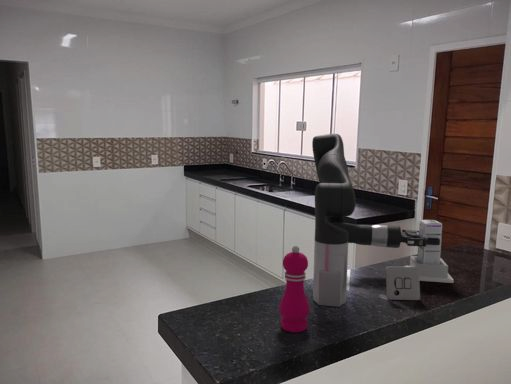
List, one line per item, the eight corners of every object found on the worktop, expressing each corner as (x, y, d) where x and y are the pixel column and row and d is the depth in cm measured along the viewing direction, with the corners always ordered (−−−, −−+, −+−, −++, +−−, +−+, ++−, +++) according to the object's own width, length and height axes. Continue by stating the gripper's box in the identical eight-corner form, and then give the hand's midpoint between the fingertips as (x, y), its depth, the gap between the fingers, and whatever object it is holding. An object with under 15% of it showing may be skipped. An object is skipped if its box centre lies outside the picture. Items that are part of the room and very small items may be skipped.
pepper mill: (272, 326, 101) (274, 245, 98) (292, 317, 106) (293, 240, 103) (295, 336, 96) (297, 251, 93) (315, 326, 101) (317, 246, 98)
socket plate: (453, 283, 133) (454, 267, 132) (410, 280, 136) (411, 265, 135) (443, 270, 146) (444, 256, 145) (404, 268, 148) (405, 254, 148)
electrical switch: (387, 300, 118) (387, 268, 118) (382, 295, 123) (382, 264, 123) (420, 301, 118) (421, 268, 118) (414, 296, 123) (415, 265, 123)
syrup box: (440, 266, 137) (443, 223, 136) (422, 265, 138) (425, 222, 136) (433, 261, 143) (436, 219, 141) (416, 260, 143) (419, 219, 141)
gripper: (388, 229, 135) (443, 233, 131) (383, 221, 149) (433, 223, 145) (386, 252, 136) (441, 256, 132) (382, 241, 150) (431, 244, 146)
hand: (437, 239), depth 139 cm, fingers closed on syrup box, 6 cm apart
